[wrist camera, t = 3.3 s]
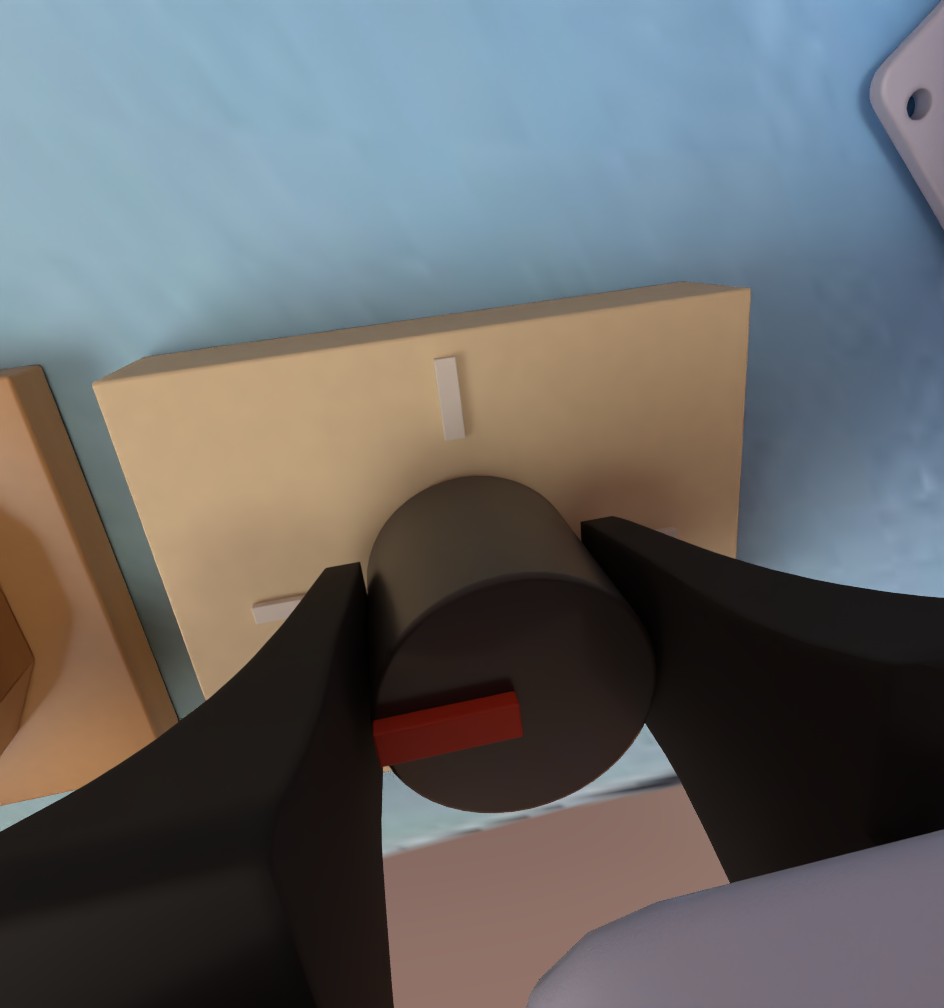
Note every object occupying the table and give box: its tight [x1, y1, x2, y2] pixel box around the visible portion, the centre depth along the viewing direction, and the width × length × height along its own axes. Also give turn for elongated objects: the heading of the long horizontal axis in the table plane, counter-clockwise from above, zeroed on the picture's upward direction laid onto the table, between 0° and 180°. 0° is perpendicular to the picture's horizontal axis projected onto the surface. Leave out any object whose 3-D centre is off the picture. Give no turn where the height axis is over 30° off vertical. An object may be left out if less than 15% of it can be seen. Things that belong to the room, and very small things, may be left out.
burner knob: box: [367, 476, 657, 813], centre depth 10 cm, size 4×4×4 cm
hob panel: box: [92, 281, 751, 772], centre depth 13 cm, size 11×9×3 cm
